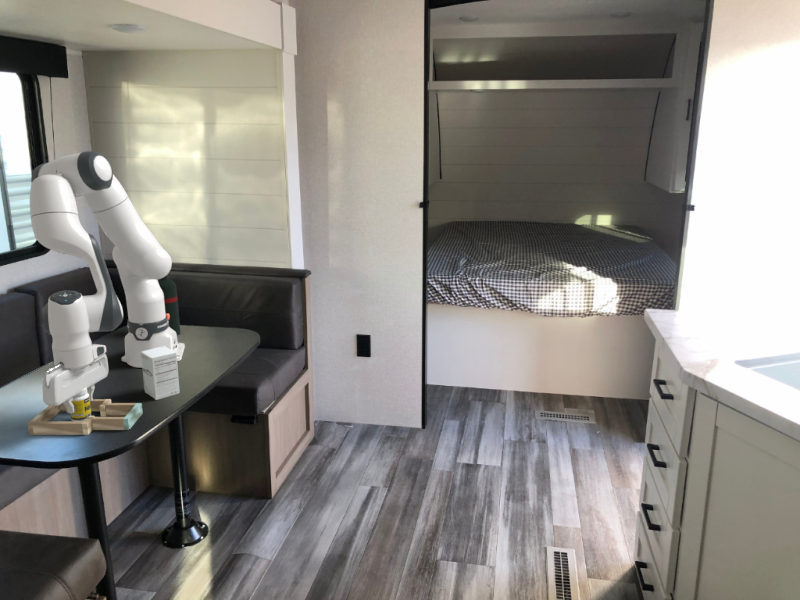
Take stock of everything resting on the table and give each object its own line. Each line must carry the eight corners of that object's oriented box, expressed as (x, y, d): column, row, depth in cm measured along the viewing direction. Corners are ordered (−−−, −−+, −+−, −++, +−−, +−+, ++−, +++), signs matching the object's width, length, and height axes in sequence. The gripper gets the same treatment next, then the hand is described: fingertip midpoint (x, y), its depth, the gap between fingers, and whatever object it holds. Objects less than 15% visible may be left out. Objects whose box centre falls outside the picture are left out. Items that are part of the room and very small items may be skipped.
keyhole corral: (57, 409, 171) (56, 399, 170) (146, 409, 172) (144, 399, 171) (29, 434, 157) (27, 423, 156) (125, 434, 158) (124, 423, 157)
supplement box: (144, 392, 182) (139, 351, 179) (168, 385, 187) (165, 345, 184) (155, 400, 177) (151, 358, 174) (180, 393, 182) (177, 351, 179)
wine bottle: (155, 330, 236) (147, 250, 228) (183, 330, 237) (176, 250, 229) (148, 337, 229) (140, 255, 221) (177, 337, 229) (169, 255, 221)
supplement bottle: (89, 421, 162) (85, 391, 160) (68, 423, 161) (65, 392, 159) (93, 413, 167) (90, 383, 165) (74, 414, 166) (70, 384, 164)
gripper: (55, 372, 149) (62, 426, 153) (110, 344, 168) (115, 392, 172) (31, 370, 150) (39, 423, 154) (88, 342, 170) (95, 390, 173)
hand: (80, 406), depth 163 cm, fingers closed on supplement bottle, 5 cm apart
